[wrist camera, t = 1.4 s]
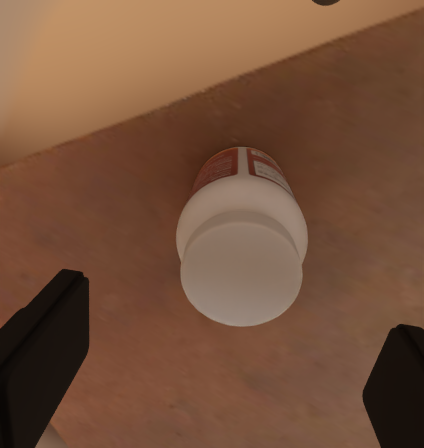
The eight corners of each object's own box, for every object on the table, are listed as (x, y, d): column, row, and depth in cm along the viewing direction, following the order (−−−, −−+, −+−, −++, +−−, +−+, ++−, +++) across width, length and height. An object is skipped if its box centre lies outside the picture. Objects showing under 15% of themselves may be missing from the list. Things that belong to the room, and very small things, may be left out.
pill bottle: (197, 230, 24) (165, 339, 14) (193, 145, 22) (150, 202, 12) (283, 231, 24) (315, 345, 13) (289, 144, 21) (333, 203, 11)
